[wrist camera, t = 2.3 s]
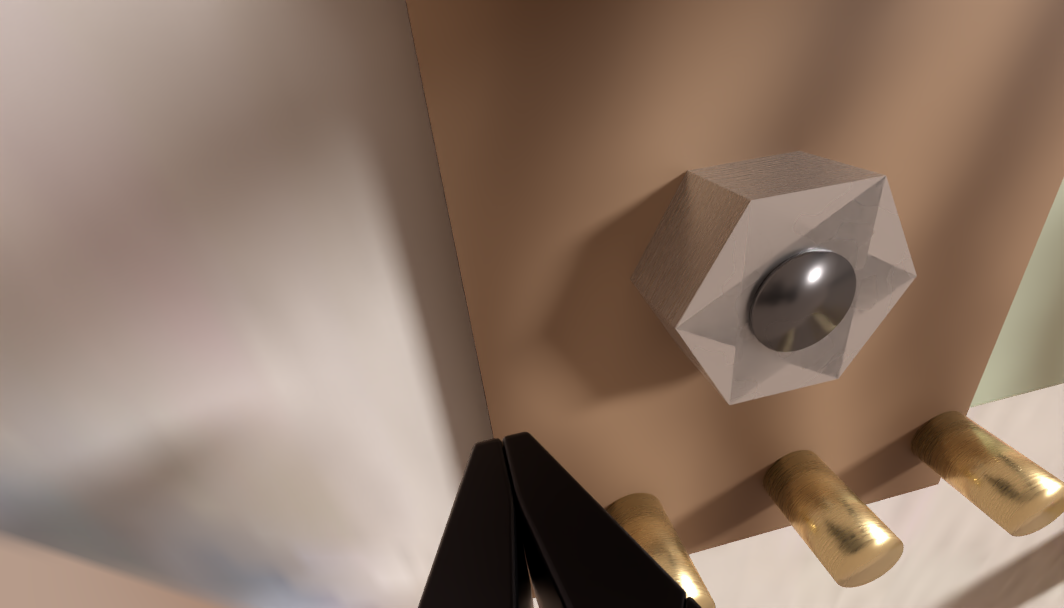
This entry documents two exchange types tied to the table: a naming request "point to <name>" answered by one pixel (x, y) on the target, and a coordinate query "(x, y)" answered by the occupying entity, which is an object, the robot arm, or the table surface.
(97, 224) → the table surface
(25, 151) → the table surface
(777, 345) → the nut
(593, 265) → the board
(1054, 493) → the spacers
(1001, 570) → the table surface
